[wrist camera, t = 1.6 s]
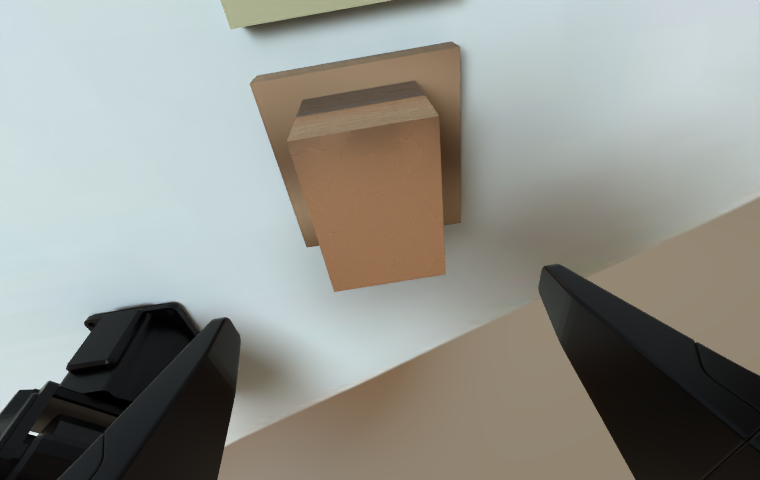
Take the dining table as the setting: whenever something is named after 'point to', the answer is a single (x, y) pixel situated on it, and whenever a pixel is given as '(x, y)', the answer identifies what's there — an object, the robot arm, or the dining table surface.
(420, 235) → the cover
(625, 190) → the dining table surface
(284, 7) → the stand
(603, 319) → the robot arm
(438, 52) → the stand
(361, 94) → the base
